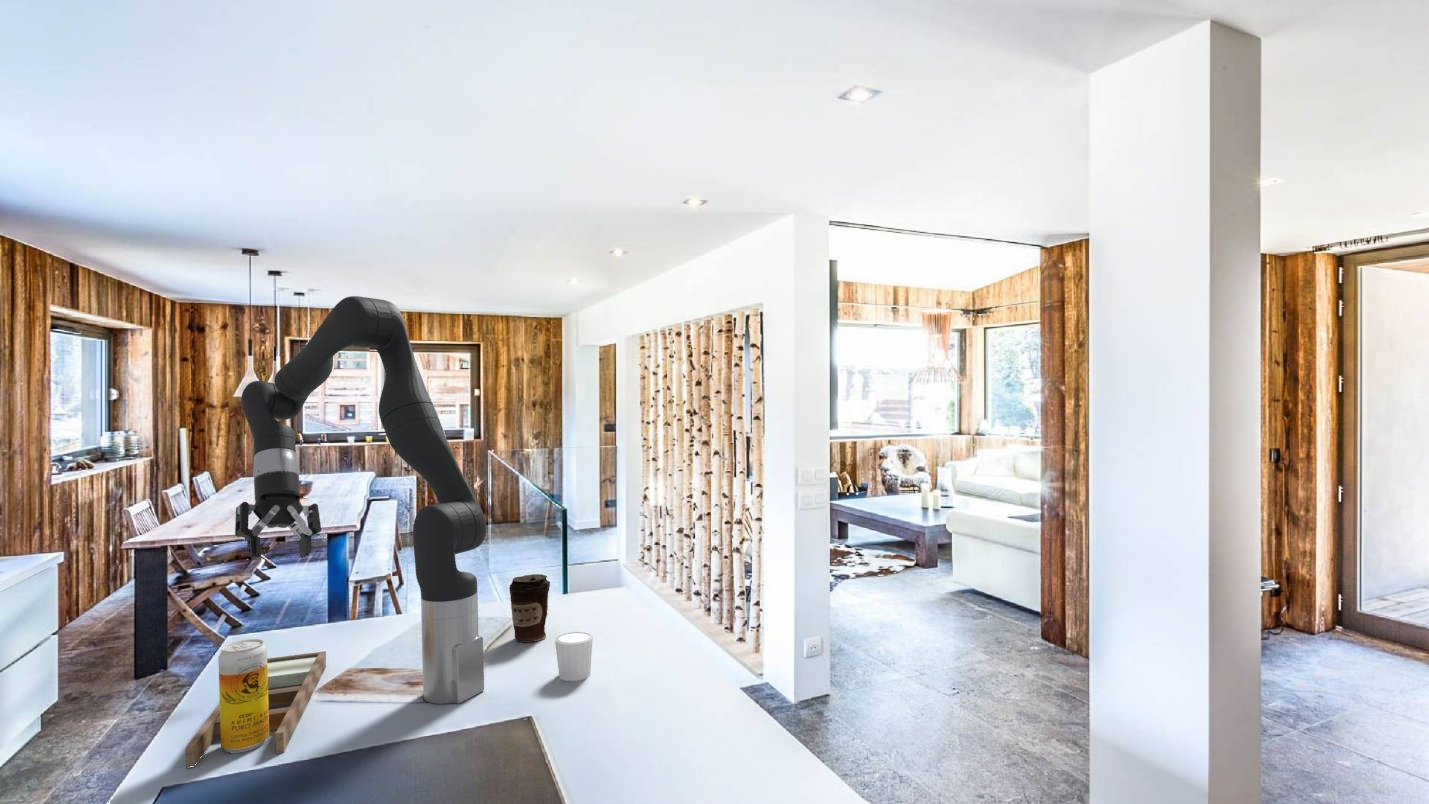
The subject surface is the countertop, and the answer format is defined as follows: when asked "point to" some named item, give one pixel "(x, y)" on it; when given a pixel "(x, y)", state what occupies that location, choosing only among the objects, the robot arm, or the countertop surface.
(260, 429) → the robot arm
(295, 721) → the brown wooden flat frame
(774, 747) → the countertop surface
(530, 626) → the coffee cup
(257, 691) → the beer can
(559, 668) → the white cup
